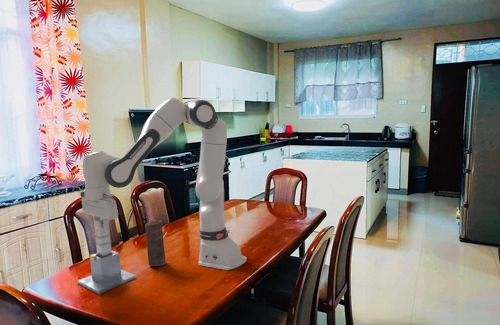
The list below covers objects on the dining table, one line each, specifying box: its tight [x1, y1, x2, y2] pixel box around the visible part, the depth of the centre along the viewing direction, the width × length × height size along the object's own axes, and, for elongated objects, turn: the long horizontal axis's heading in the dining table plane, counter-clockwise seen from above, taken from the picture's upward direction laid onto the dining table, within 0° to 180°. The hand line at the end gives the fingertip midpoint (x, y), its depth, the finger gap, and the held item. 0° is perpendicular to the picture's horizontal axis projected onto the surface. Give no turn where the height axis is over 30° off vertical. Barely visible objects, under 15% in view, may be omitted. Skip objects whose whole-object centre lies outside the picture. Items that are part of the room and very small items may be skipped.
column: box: [93, 217, 113, 258], centre depth 140 cm, size 4×4×22 cm
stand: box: [77, 249, 137, 295], centre depth 141 cm, size 16×16×12 cm
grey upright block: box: [144, 219, 167, 267], centre depth 154 cm, size 8×7×20 cm
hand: (101, 227), depth 139 cm, fingers closed on column, 4 cm apart
